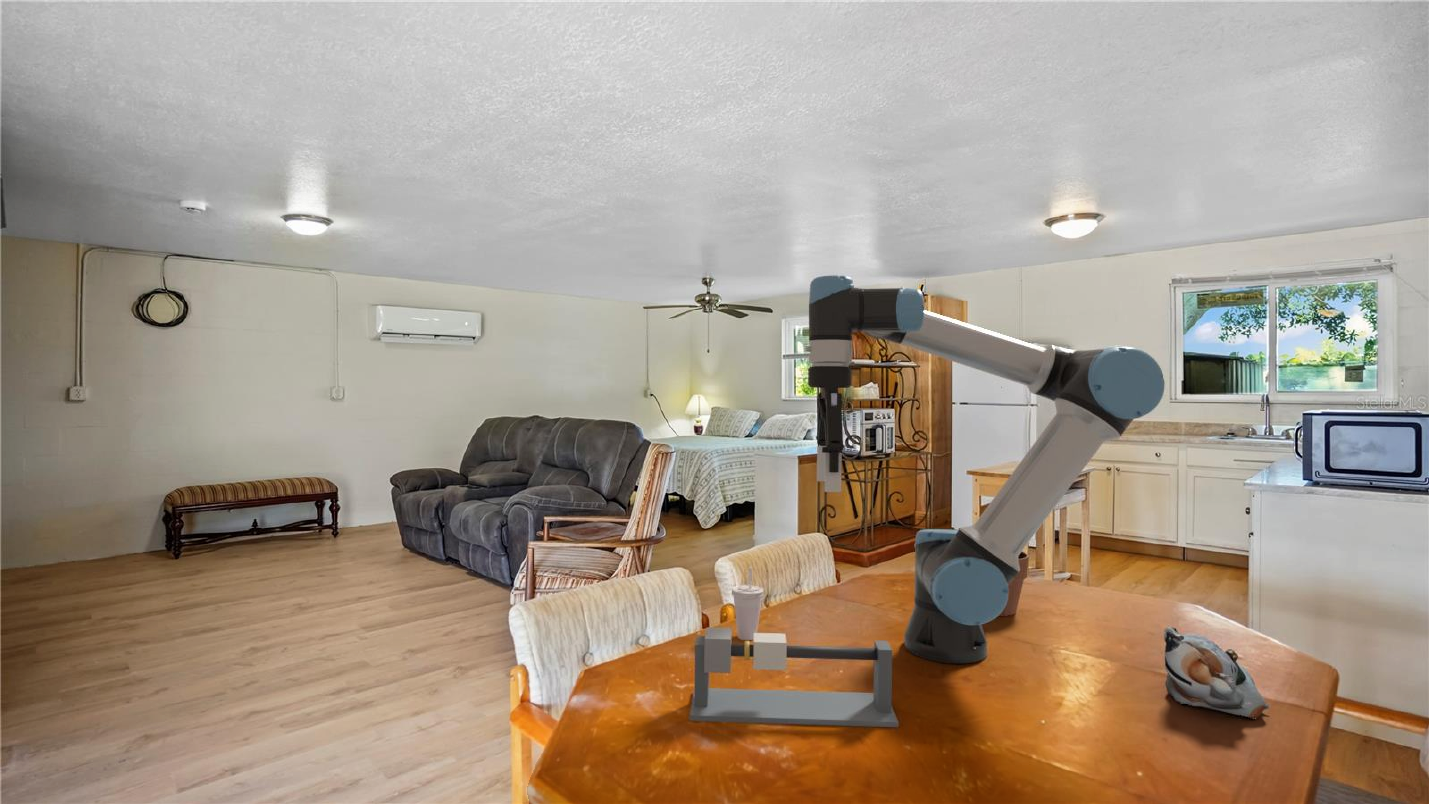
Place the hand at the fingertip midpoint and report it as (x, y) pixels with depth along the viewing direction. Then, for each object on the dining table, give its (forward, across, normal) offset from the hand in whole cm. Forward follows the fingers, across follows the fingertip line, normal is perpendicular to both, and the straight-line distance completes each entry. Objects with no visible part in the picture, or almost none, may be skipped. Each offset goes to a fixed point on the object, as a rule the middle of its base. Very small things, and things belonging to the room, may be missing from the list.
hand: (828, 486), depth 128 cm
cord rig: (+33, +16, -7) cm, 37 cm away
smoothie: (+33, -16, -14) cm, 39 cm away
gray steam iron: (+33, +10, +60) cm, 69 cm away
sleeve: (+26, +16, -11) cm, 32 cm away
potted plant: (+33, -38, +42) cm, 66 cm away
